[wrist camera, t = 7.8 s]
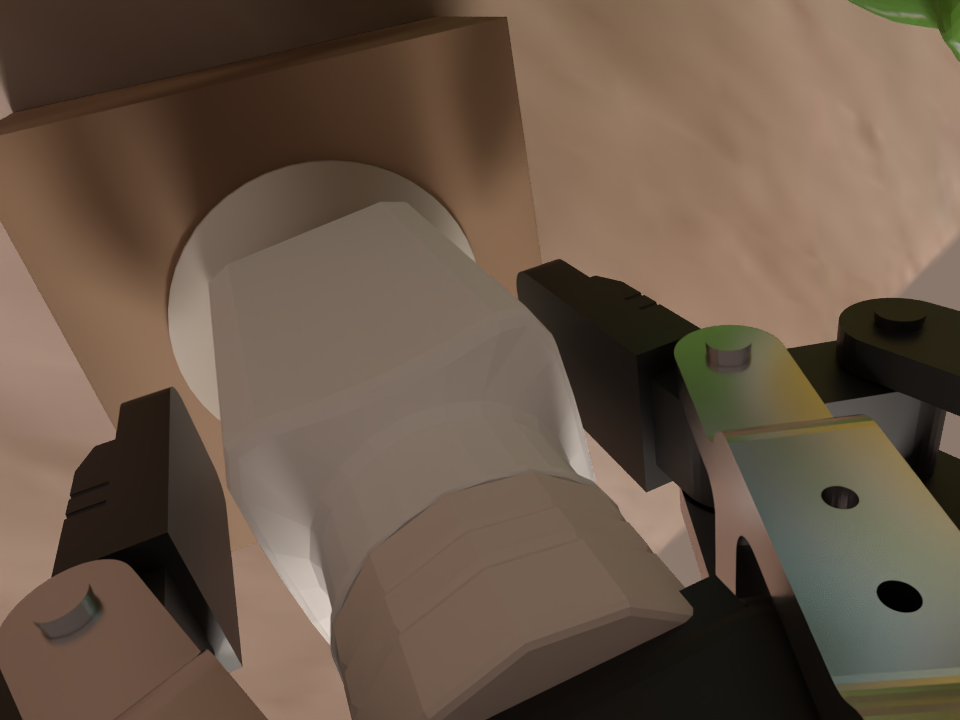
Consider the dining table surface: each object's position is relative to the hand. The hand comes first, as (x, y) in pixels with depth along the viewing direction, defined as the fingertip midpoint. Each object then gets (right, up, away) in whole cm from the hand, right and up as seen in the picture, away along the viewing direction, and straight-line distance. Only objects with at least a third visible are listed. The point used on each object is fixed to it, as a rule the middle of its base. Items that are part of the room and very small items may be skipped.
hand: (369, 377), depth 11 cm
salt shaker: (-1, +1, +2) cm, 3 cm away
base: (-2, +3, +6) cm, 7 cm away
